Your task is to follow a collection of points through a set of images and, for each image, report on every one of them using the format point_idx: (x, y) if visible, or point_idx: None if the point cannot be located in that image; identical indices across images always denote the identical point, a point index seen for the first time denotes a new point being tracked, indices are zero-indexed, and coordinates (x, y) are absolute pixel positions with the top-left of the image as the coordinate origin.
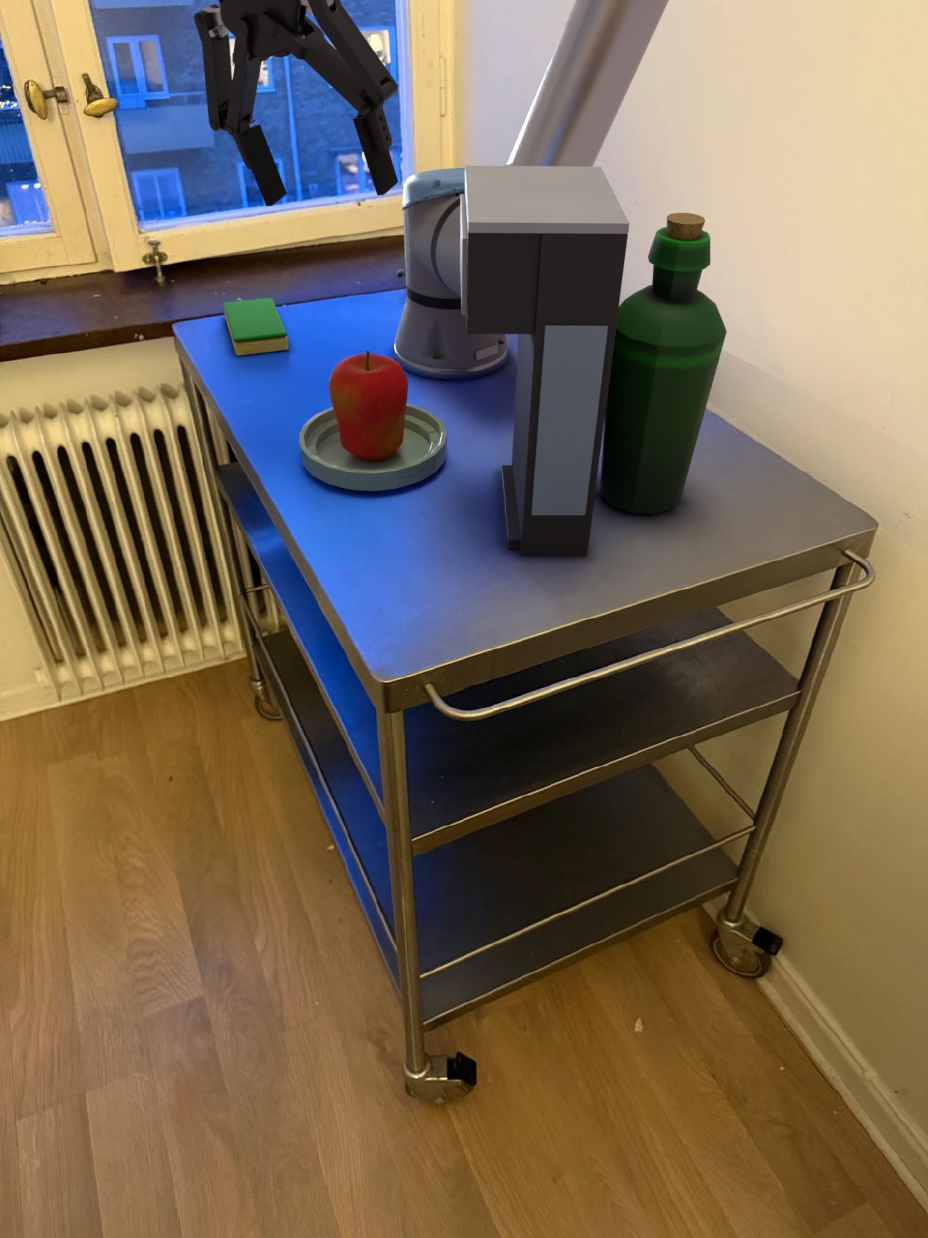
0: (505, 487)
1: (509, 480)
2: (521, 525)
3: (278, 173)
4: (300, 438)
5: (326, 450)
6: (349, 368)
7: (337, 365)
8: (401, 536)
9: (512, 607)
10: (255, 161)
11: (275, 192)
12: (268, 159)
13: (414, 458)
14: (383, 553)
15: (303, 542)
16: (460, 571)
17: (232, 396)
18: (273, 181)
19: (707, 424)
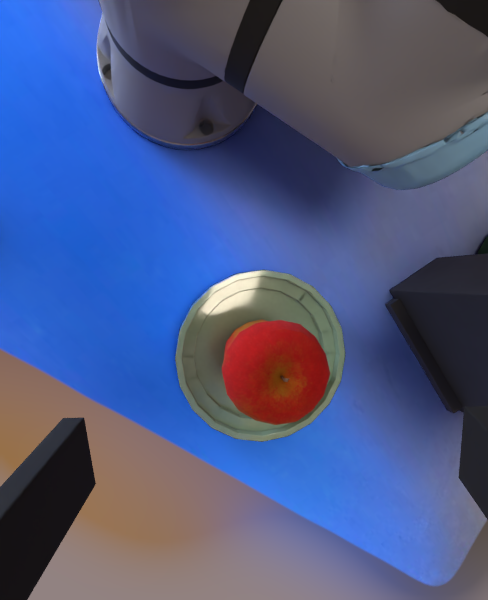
0: (413, 340)
1: (410, 327)
2: None
3: (57, 457)
4: (199, 413)
5: (212, 380)
6: (268, 401)
7: (240, 392)
8: (359, 448)
9: None
10: (31, 584)
11: (81, 470)
12: (29, 510)
13: None
14: (360, 478)
15: (291, 509)
16: (428, 458)
17: (4, 331)
18: (68, 481)
19: None
